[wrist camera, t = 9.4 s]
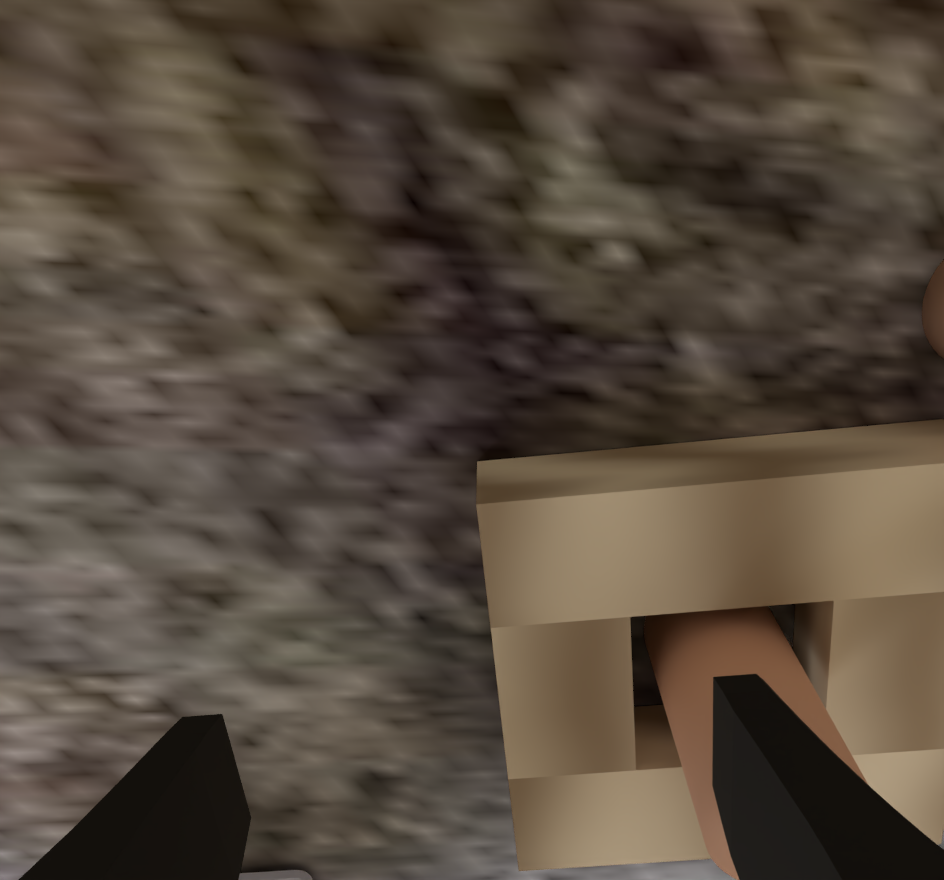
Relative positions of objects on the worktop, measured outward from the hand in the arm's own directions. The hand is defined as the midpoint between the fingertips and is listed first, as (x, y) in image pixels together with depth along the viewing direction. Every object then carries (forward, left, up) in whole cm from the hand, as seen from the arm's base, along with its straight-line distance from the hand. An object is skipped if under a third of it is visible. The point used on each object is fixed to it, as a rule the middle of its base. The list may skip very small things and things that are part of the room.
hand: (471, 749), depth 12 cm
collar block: (+6, -6, -10) cm, 13 cm away
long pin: (+6, -6, -10) cm, 13 cm away
